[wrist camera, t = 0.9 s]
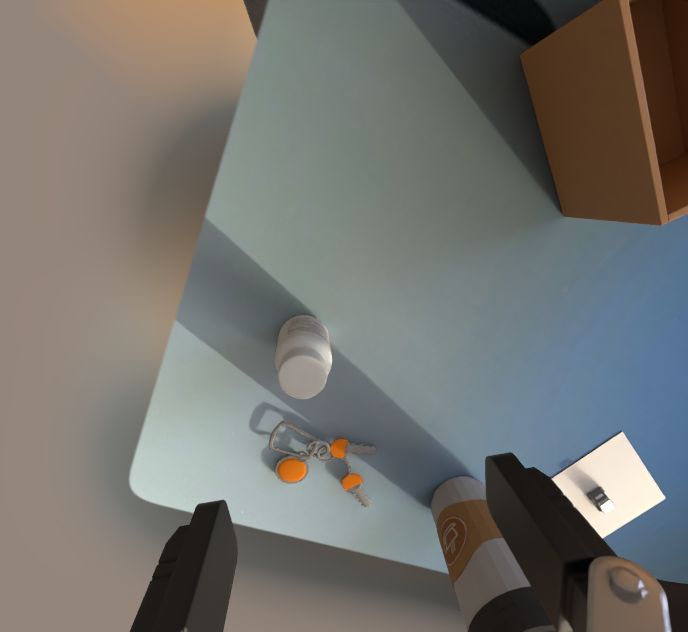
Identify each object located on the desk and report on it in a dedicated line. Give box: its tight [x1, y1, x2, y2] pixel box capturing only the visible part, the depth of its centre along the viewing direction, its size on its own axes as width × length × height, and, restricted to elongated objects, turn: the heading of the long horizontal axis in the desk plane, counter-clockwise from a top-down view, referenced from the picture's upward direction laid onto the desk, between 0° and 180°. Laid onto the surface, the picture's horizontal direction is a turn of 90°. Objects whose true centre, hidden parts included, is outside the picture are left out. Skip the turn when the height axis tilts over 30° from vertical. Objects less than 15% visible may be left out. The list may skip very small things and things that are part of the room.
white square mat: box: [552, 432, 666, 538], centre depth 42 cm, size 12×12×2 cm
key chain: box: [269, 421, 376, 507], centre depth 37 cm, size 13×7×1 cm, turn 62°
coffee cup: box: [431, 476, 573, 632], centre depth 34 cm, size 8×8×15 cm
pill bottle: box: [274, 315, 332, 399], centre depth 30 cm, size 4×4×8 cm
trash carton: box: [520, 0, 688, 226], centre depth 26 cm, size 13×11×10 cm
